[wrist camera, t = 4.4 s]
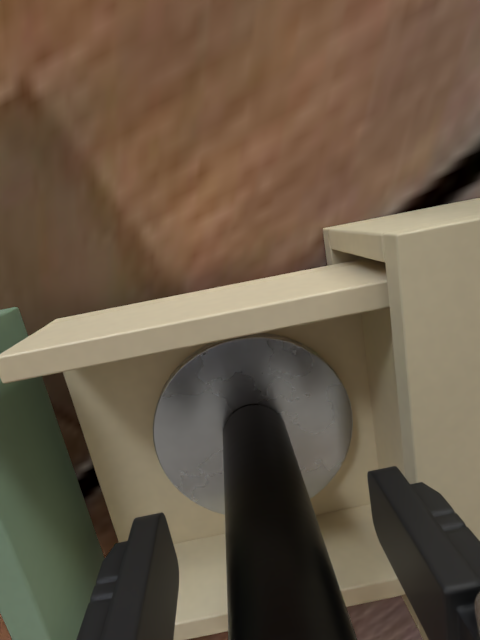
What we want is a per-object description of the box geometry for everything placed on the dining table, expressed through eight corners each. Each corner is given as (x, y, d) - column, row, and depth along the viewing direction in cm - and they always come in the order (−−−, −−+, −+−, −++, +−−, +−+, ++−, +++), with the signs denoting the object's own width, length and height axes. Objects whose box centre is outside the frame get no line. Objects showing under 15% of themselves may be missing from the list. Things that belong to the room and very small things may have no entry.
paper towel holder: (179, 523, 16) (131, 917, 7) (132, 354, 14) (-17, 593, 5) (358, 487, 16) (541, 831, 7) (335, 314, 14) (546, 479, 5)
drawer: (-9, 589, 18) (-88, 719, 13) (-123, 333, 15) (-280, 386, 10) (392, 508, 18) (453, 607, 13) (363, 238, 15) (430, 246, 10)
